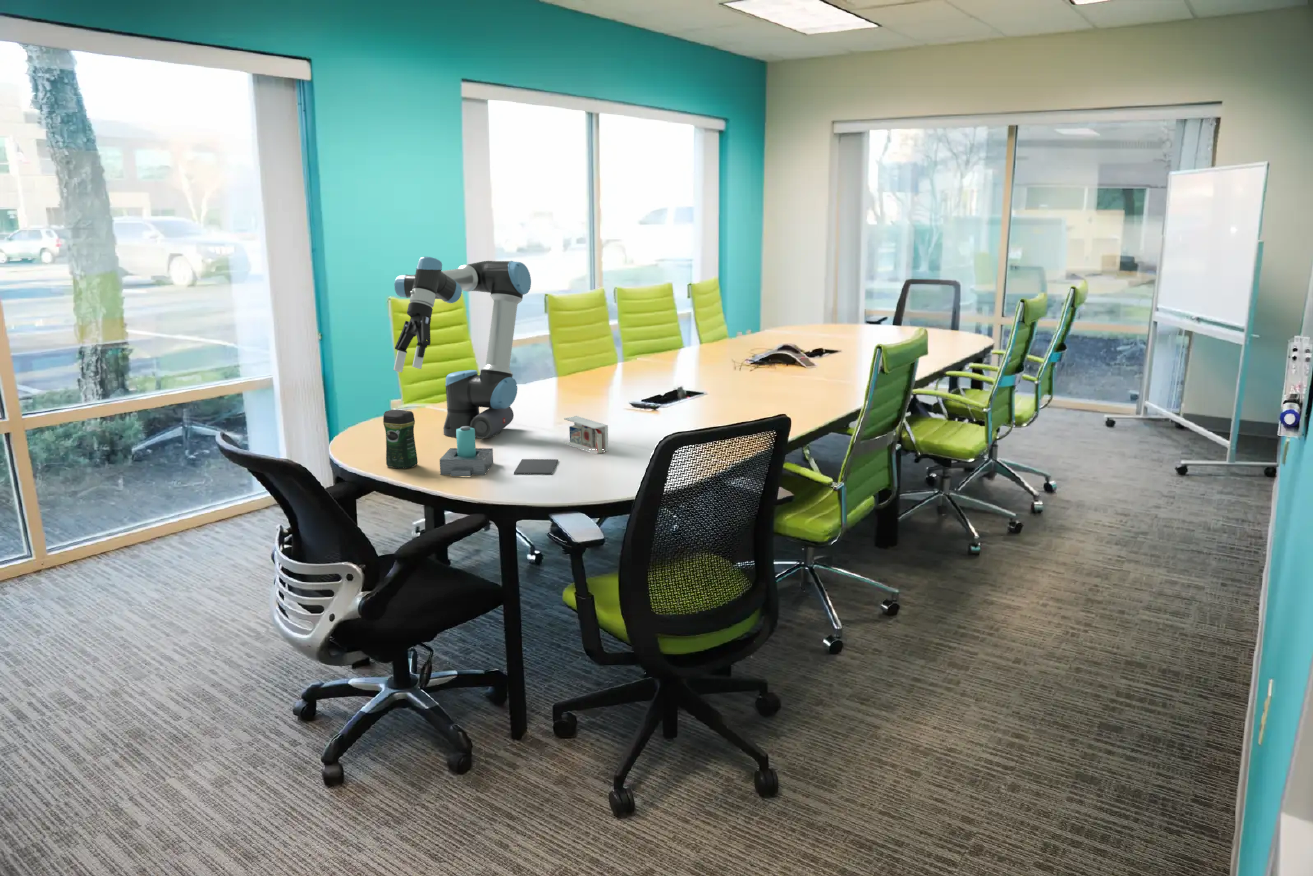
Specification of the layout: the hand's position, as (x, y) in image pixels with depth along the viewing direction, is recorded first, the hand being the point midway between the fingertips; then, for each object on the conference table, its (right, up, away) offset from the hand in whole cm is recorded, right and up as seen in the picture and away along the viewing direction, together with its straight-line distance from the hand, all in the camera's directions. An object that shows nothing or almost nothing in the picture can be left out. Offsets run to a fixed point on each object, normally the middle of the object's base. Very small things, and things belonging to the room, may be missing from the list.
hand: (407, 369), depth 289 cm
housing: (+17, -31, +8) cm, 37 cm away
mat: (+39, -31, +10) cm, 51 cm away
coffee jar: (-5, -31, +12) cm, 33 cm away
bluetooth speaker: (+17, -20, +53) cm, 59 cm away
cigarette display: (+54, -25, +35) cm, 69 cm away
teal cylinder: (+17, -31, +8) cm, 37 cm away
